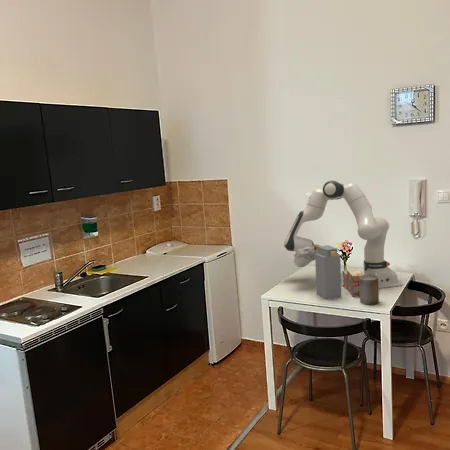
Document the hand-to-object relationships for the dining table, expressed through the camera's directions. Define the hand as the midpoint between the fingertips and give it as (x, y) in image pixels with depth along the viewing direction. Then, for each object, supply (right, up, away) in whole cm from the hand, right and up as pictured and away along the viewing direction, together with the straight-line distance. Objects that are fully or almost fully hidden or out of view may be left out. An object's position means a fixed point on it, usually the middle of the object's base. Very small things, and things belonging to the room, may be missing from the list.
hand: (317, 247), depth 260 cm
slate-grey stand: (+5, -27, -7) cm, 28 cm away
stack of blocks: (+21, -25, -1) cm, 33 cm away
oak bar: (+2, -3, -7) cm, 7 cm away
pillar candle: (+23, -28, -21) cm, 42 cm away
